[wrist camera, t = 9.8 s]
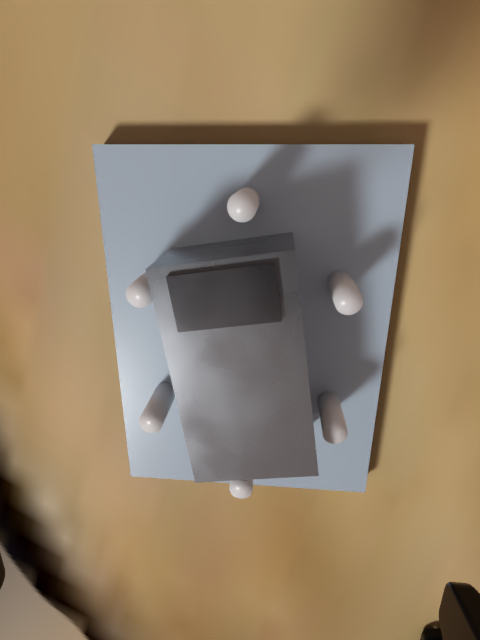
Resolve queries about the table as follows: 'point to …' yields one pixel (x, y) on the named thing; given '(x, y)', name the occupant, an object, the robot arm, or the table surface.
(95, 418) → the table surface
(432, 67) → the table surface
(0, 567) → the robot arm
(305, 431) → the block
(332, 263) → the pin cradle
